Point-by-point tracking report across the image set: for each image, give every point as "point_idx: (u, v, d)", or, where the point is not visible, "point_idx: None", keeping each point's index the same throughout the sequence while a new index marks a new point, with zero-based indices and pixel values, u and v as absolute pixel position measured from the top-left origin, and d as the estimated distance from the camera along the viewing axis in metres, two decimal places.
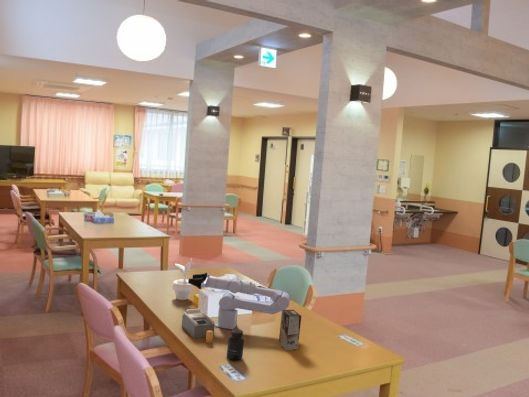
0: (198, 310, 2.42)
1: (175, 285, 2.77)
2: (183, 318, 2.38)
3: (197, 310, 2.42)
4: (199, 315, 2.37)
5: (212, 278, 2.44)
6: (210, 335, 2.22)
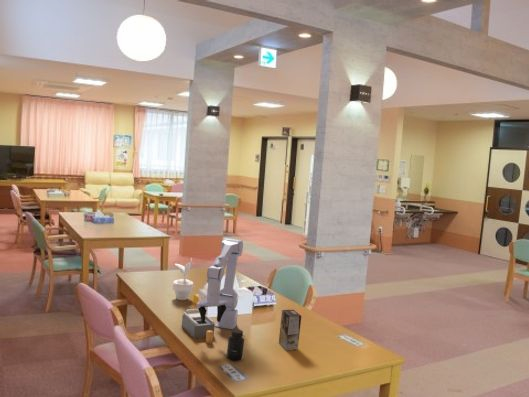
0: (198, 310, 2.42)
1: (175, 285, 2.77)
2: (183, 318, 2.38)
3: (197, 310, 2.42)
4: (199, 315, 2.37)
5: (218, 299, 2.20)
6: (210, 335, 2.22)
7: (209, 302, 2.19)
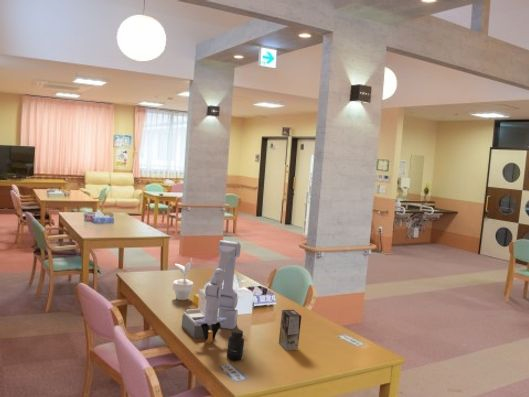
0: (198, 310, 2.42)
1: (175, 285, 2.77)
2: (183, 318, 2.38)
3: (197, 310, 2.42)
4: (199, 315, 2.37)
5: (216, 316, 2.21)
6: (210, 335, 2.22)
7: (207, 319, 2.20)
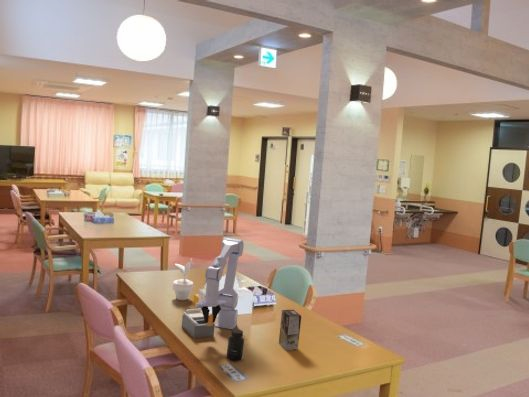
0: (198, 310, 2.42)
1: (175, 285, 2.77)
2: (183, 318, 2.38)
3: (197, 310, 2.42)
4: (199, 315, 2.37)
5: (216, 299, 2.22)
6: (210, 318, 2.22)
7: (208, 302, 2.21)
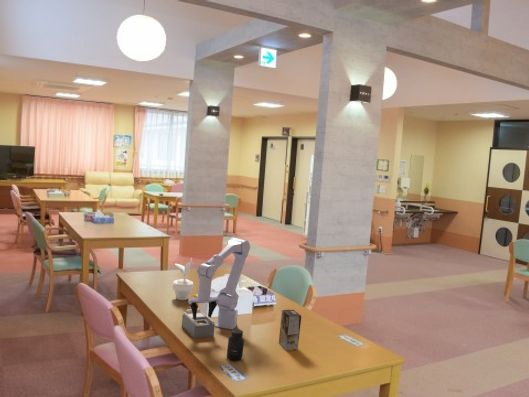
0: (198, 310, 2.42)
1: (175, 285, 2.77)
2: (183, 318, 2.38)
3: (197, 310, 2.42)
4: (199, 315, 2.37)
5: (209, 295, 2.29)
6: None
7: (200, 298, 2.28)
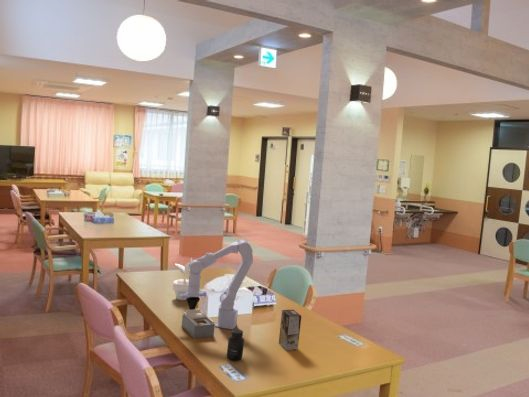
0: (198, 310, 2.42)
1: (175, 285, 2.77)
2: (183, 318, 2.38)
3: (197, 310, 2.41)
4: (199, 315, 2.37)
5: (198, 290, 2.41)
6: None
7: (191, 293, 2.39)
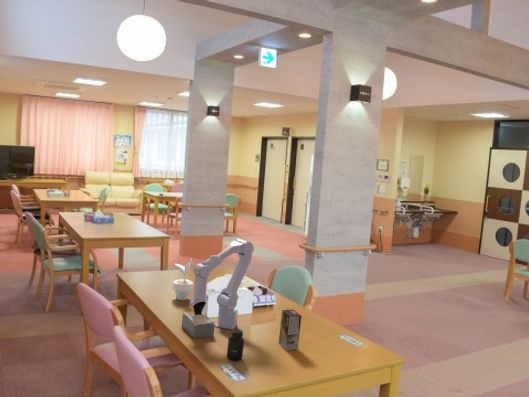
0: (204, 315, 2.35)
1: (175, 285, 2.77)
2: (183, 318, 2.38)
3: (203, 316, 2.35)
4: (205, 321, 2.30)
5: (205, 294, 2.35)
6: None
7: (200, 298, 2.32)
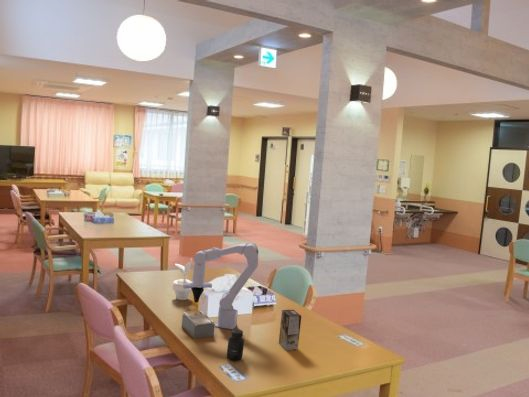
0: (204, 315, 2.35)
1: (175, 285, 2.77)
2: (183, 318, 2.38)
3: (203, 316, 2.35)
4: (206, 321, 2.30)
5: (202, 281, 2.44)
6: None
7: (194, 283, 2.43)
